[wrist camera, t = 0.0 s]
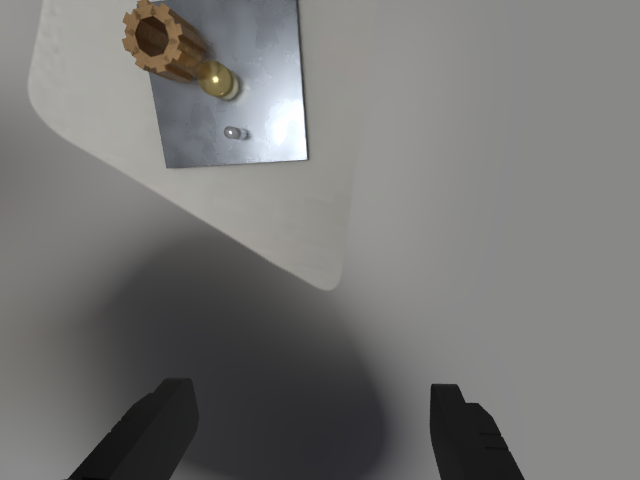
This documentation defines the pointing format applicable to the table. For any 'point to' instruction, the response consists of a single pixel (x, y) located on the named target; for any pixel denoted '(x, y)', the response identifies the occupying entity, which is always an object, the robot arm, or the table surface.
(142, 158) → the table surface
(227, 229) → the table surface
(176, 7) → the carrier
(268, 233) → the table surface
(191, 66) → the planet gear
